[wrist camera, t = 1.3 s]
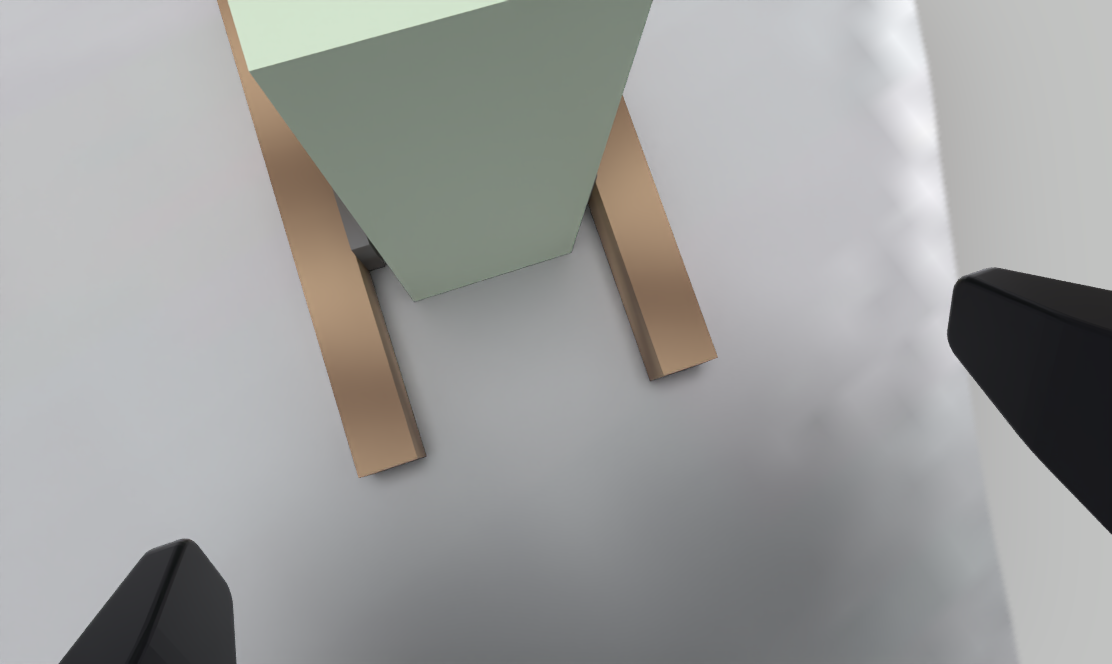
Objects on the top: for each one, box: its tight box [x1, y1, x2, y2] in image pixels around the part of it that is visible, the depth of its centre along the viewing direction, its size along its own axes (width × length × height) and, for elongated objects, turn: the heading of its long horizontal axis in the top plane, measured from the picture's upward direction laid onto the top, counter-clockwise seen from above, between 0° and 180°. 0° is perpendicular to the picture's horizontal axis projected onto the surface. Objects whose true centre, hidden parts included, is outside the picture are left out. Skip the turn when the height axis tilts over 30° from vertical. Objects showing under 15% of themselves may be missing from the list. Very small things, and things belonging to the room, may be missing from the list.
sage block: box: [228, 0, 653, 302], centre depth 16 cm, size 5×5×14 cm
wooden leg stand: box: [217, 0, 718, 478], centre depth 21 cm, size 16×10×2 cm, turn 19°
